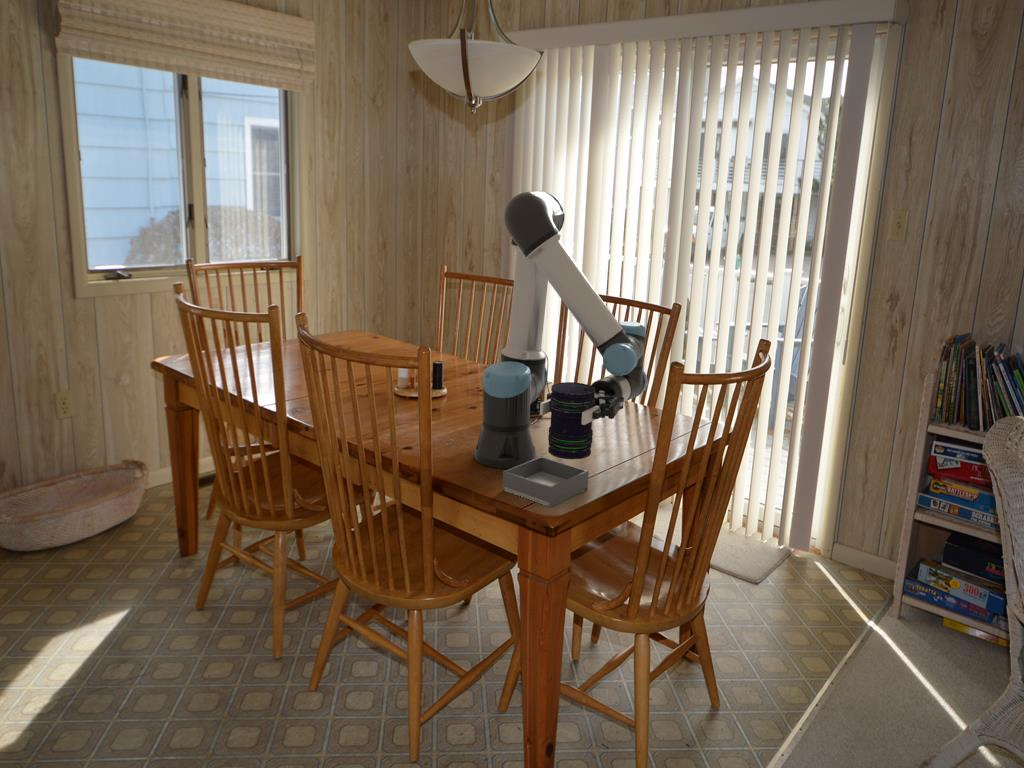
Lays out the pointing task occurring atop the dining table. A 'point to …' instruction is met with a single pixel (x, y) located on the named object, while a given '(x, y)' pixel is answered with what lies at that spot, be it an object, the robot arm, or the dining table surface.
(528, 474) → the cradle tray
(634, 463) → the dining table surface
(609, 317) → the robot arm
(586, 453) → the dark blue ribbed cylinder
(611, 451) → the dining table surface
